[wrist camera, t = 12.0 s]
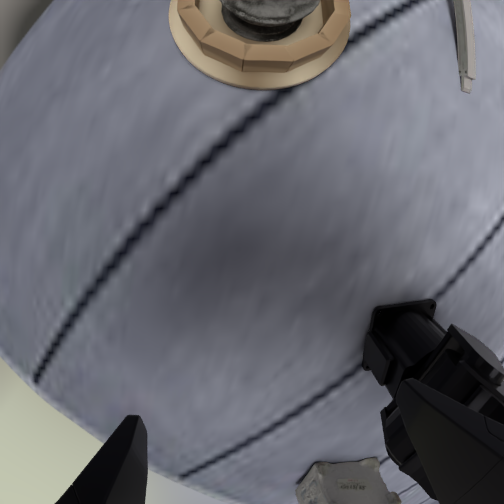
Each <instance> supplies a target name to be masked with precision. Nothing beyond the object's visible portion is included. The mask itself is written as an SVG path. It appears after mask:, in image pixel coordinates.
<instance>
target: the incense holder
mask: <svg viewBox="0 0 504 504" xmlns="http://www.w3.org/2000/svg"><path fill="white" fill-rule="evenodd" d="M379 467H380V463H379V461H378V459H377V458H367V459H363V460H362V461H359V462H344V463H337V464H332V463H330V464H329V463H328V462H319V463H315V464H314V465H313V466H312V468H311V470H310V471H309V473H308V474H307V475H306V476H305V478H304V480H303V481H302V482H301V483H300V484H299V486H298V487H297V489H296V490H295V491H296V497H297V500H298V502H299V504H401V499H400V498H399V496H398V495H397V493H395V492H391V493H390V492H389V491H388V489H387V487H386V484H385V483H384V482H383V479H382V478H381V475H380V472H379Z"/></svg>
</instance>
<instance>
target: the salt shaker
mask: <svg viewBox="0 0 504 504" xmlns="http://www.w3.org/2000/svg"><path fill="white" fill-rule="evenodd" d="M220 2H221V3H222V10H221V13H222V16H223V19H224V21H225V23H226V24H227V26H228V27H229V28H230V29H231V30H232V31H234V32H235V33H236V34H238V35H240V36H242V37H244V38H246V39H250V40H253V41H259V42H271V41H278V40H281V39H283V38H286V37H288V36H290V35H291V34H292V33H294V32H295V31H296V30H297V29H298V27H299V26H300V25H301V22H302V19H303V18H305V17H306V16H308V15H309V14H311V13H312V12H313V11H314V10H315V8H316V7H317V6H318V5H319V3H320V0H220Z"/></svg>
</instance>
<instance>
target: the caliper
mask: <svg viewBox="0 0 504 504" xmlns="http://www.w3.org/2000/svg"><path fill="white" fill-rule="evenodd" d="M453 3H454V11H455V21H456V34H457V60H458V67H459V75H460V76H461V90H462V91H464V92H467V93H470V91H471V90H472V80H475V75H476V71H475V41H474V28H473V18H472V10H471V3H470V0H453Z"/></svg>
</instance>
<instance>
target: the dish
mask: <svg viewBox="0 0 504 504" xmlns="http://www.w3.org/2000/svg"><path fill="white" fill-rule="evenodd" d="M221 10H222V3H221V2H220V0H171V3H170V8H169V24H170V29H171V32H172V35H173V38H174V40H175V42H176V44H177V46H178V47H179V49H180V51H181V52H182V54H183V55H184V56H185V57H186V59H187V60H188V61H189V62H190V63H191V64H192V65H193V66H194V67H196V68H197V69H198V70H200V71H201V72H202V73H204V74H205V75H207V76H209V77H211V78H213V79H215V80H217V81H220V82H222V83H225V84H227V85H231V86H235V87H238V88H244V89H250V90H276V89H283V88H288V87H292V86H296V85H299V84H302V83H304V82H307V81H309V80H311V79H312V78H314V77H316V76H318V75H319V74H320V73H322V72H323V71H324V70H326V69H327V68H328V67H329V66H330V65H331V64H332V63H333V62H334V61H335V60H336V59H337V58H338V57H339V55H340V54H341V53H342V51H343V49H344V47H345V45H346V43H347V40H348V37H349V32H350V17H351V12H350V5H349V0H320V3H319V5H318V6H317V7H316V8H315V10H314V11H313V12H312V13H311V14H309V15H308V16H306V17H305V18H303V19H302V22H301V25H300V26H299V27H298V29H297V30H296V31H295V32H294V33H292V34H291V35H290V36H288V37H286V38H283V39H281V40H278V41H271V42H259V41H253V40H250V39H246V38H244V37H242V36H240V35H238V34H236V33H235V32H234V31H232V30H231V29H230V28H229V27H228V26H227V24H226V23H225V21H224V19H223V16H222V13H221Z"/></svg>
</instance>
